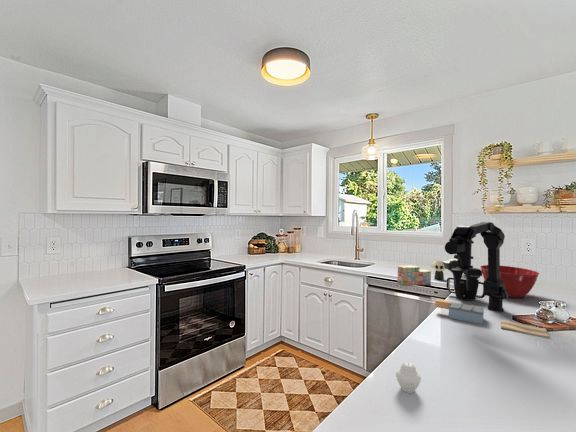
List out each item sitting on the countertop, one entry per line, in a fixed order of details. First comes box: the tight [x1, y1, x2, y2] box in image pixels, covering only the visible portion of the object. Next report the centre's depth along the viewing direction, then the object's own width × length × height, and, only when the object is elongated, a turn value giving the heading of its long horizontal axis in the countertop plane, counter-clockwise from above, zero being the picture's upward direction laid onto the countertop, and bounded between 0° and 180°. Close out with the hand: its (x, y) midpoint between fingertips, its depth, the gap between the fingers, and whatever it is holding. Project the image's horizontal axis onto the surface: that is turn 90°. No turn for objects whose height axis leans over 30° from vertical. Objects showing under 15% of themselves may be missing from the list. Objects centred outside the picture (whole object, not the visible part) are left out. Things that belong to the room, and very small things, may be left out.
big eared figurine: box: [430, 260, 446, 280], centre depth 218 cm, size 11×7×13 cm, turn 59°
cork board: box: [500, 319, 550, 339], centre depth 124 cm, size 11×15×1 cm
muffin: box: [395, 362, 422, 394], centre depth 79 cm, size 6×6×7 cm
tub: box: [448, 309, 485, 325], centre depth 135 cm, size 9×13×4 cm
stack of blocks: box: [397, 265, 432, 287], centre depth 200 cm, size 21×6×12 cm, turn 104°
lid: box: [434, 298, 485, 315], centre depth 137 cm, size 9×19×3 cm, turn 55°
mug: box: [446, 274, 486, 301], centre depth 168 cm, size 16×16×12 cm
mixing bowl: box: [480, 264, 540, 299], centre depth 179 cm, size 28×28×15 cm
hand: (462, 287), depth 135 cm, fingers open, 9 cm apart
